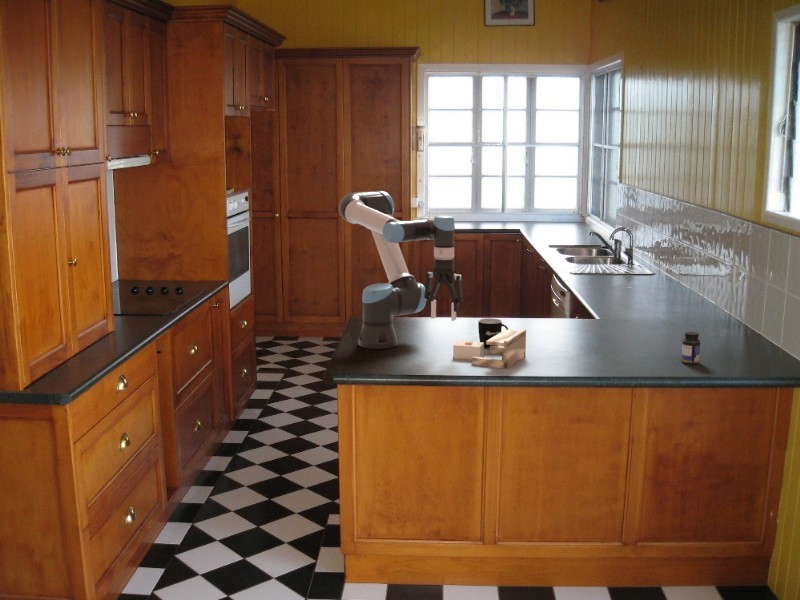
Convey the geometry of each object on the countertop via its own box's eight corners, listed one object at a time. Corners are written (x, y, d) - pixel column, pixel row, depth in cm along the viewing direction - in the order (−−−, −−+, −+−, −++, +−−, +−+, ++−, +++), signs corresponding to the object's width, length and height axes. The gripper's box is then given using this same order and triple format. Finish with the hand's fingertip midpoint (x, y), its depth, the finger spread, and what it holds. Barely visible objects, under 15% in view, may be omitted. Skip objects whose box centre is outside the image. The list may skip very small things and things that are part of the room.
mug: (482, 349, 336) (482, 323, 334) (475, 344, 345) (475, 318, 343) (512, 348, 339) (512, 322, 337) (504, 342, 347) (504, 317, 345)
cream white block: (453, 358, 325) (453, 343, 324) (457, 353, 332) (457, 339, 331) (479, 360, 323) (480, 345, 321) (483, 355, 329) (483, 341, 328)
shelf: (471, 364, 317) (472, 337, 315) (491, 351, 333) (491, 326, 331) (507, 368, 311) (507, 341, 309) (525, 356, 327) (526, 329, 325)
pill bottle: (695, 360, 321) (697, 330, 318) (701, 364, 315) (703, 334, 312) (678, 360, 320) (680, 330, 318) (684, 365, 314) (686, 334, 312)
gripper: (414, 257, 326) (414, 318, 331) (465, 261, 317) (464, 323, 321) (423, 254, 333) (423, 314, 337) (473, 258, 323) (472, 319, 328)
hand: (443, 318), depth 329 cm, fingers open, 8 cm apart
